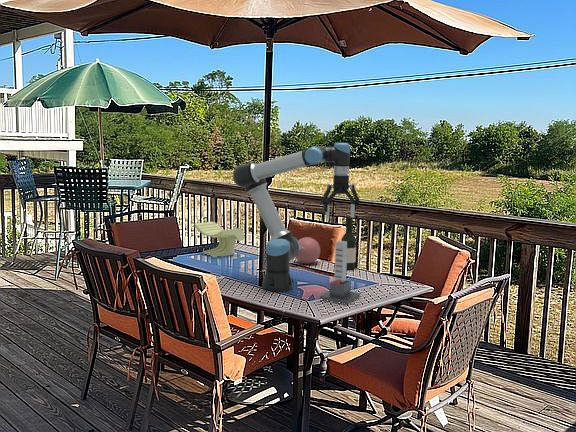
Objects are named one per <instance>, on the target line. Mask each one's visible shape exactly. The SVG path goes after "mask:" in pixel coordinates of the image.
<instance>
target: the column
mask: <svg viewBox="0 0 576 432" xmlns="http://www.w3.org/2000/svg"><path fill="white" fill-rule="evenodd" d="M334 243H335V244H334V245H335V250H334V251H335V255H334V280H335V281H341V284H344V283H346V281H347V270H346V267H347V241H341V240H337V241H335V242H334Z"/></svg>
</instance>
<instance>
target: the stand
mask: <svg viewBox="0 0 576 432" xmlns="http://www.w3.org/2000/svg"><path fill="white" fill-rule="evenodd" d="M351 283H352V282H351V280H346V283H344V284H341V281H335V279H333V280H332V281H330V282H329V290H328V291H326V292H323V294H320V295H319V300H320V299H323V300H328V301H333V302H340V303H345V304H348V303H350V302H351V303H353V302H355V301H356V300H357V298H358V299H359V297H361V293H360V292H355V291H351V286H352V285H351ZM355 299H356V300H355ZM354 300H355V301H354ZM328 301H327V302H328ZM352 301H353V302H352ZM333 302H332V303H333ZM351 303H350V304H351ZM348 305H349V304H348Z"/></svg>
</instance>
